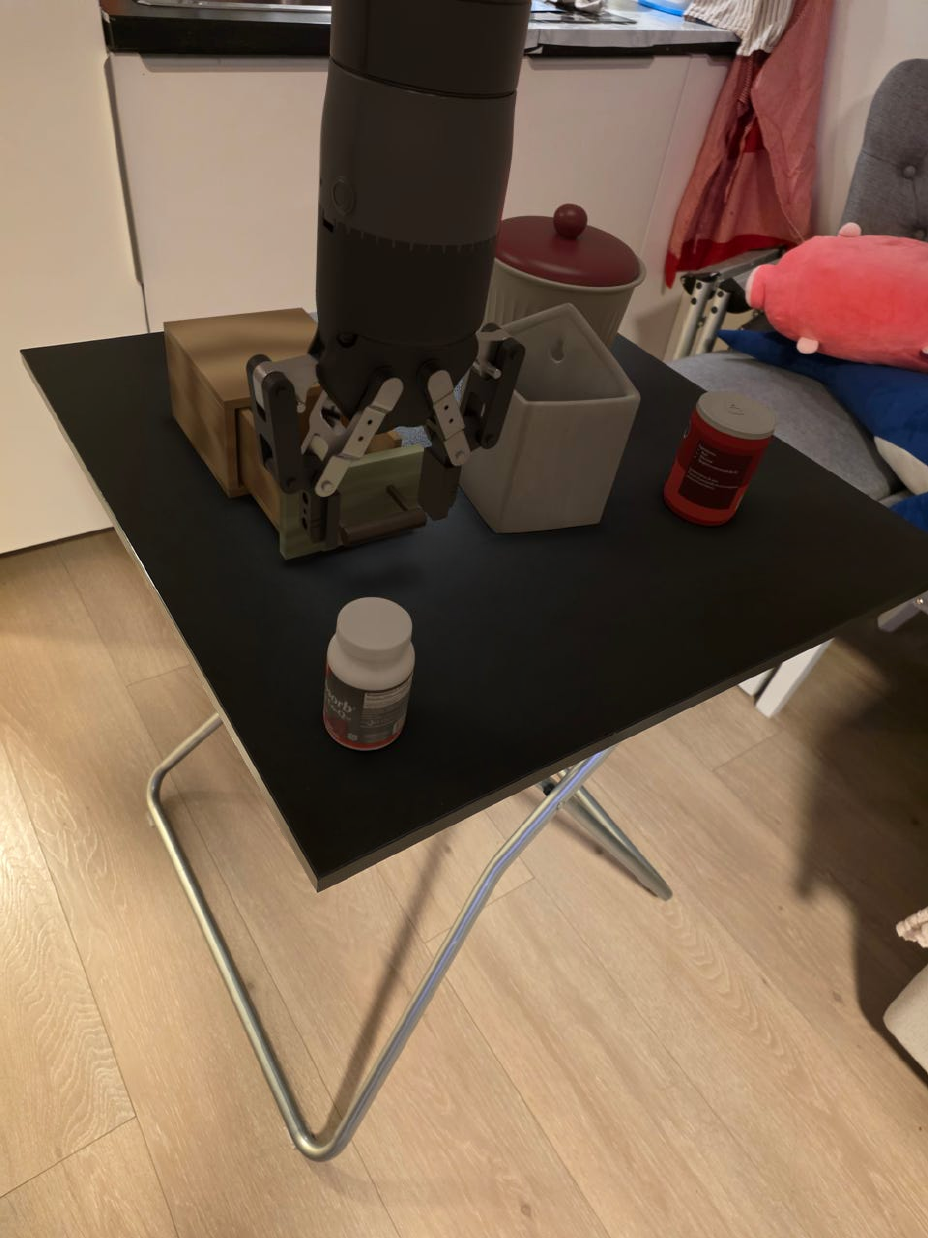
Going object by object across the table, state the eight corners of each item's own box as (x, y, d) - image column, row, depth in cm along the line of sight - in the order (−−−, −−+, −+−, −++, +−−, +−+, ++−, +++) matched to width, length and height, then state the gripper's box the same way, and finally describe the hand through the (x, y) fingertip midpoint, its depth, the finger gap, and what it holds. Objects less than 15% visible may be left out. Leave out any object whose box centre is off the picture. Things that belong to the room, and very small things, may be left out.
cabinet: (365, 468, 79) (372, 377, 72) (229, 498, 72) (223, 400, 65) (300, 395, 87) (301, 306, 80) (172, 416, 80) (162, 321, 74)
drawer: (447, 560, 69) (461, 484, 64) (313, 600, 63) (316, 520, 58) (346, 446, 79) (351, 372, 74) (223, 471, 73) (218, 393, 68)
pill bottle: (310, 703, 57) (314, 601, 50) (383, 681, 59) (395, 581, 53) (342, 765, 54) (351, 665, 47) (417, 739, 56) (436, 640, 49)
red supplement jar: (708, 480, 87) (748, 388, 80) (747, 525, 82) (794, 432, 75) (647, 484, 85) (682, 390, 77) (684, 531, 80) (726, 435, 72)
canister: (493, 343, 104) (527, 164, 89) (623, 391, 99) (681, 211, 85) (427, 396, 91) (454, 197, 77) (572, 454, 87) (630, 255, 73)
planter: (416, 503, 76) (445, 302, 63) (450, 464, 82) (482, 273, 68) (577, 564, 73) (642, 368, 60) (600, 520, 79) (664, 331, 65)
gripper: (500, 168, 38) (450, 464, 50) (205, 173, 31) (226, 516, 43) (600, 227, 34) (521, 535, 46) (285, 248, 27) (285, 605, 39)
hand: (378, 525), depth 44 cm, fingers open, 6 cm apart
